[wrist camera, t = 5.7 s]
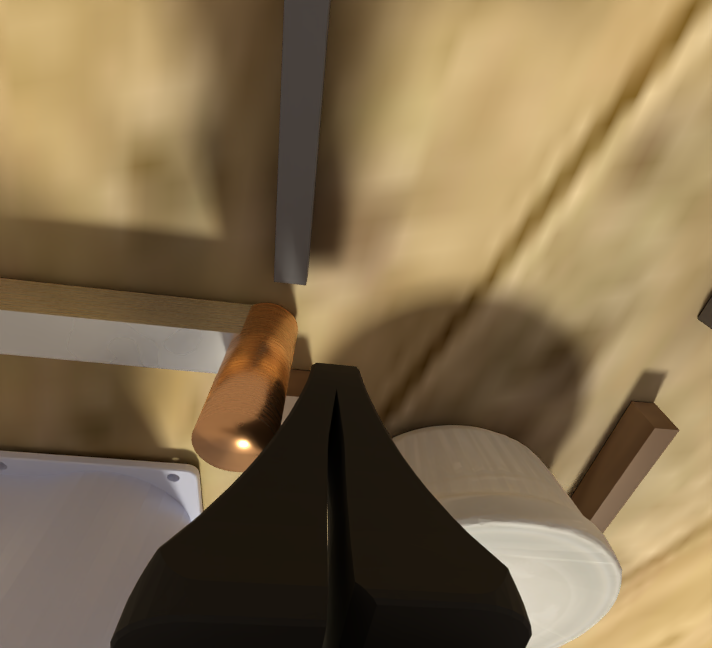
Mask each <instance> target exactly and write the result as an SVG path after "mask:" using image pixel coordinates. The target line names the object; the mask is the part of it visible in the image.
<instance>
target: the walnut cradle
mask: <svg viewBox="0 0 712 648" xmlns="http://www.w3.org/2000/svg"><path fill="white" fill-rule="evenodd" d="M309 374H310V371H304V370H294V369H291V372H290V377H289V383H288V388H287V394H286V399H285V405H284V410H283V416H282V422H281V425H282V424H283V422H284V421H285V419H286V418H287V416H288V415H289V413H290V411H291V410H292V408H293V406H294V405H295V403H296V401H297V399H298V398H299V396H300V394H301V392H302V390H303V388H304V386H305V384H306V382H307V379H308V377H309ZM678 432H679V429H678V428H677V427H676V426H675V425H674V424H673V423H672V422H671V421H670V420H669V418H668V417H667V416H666V415H665V414H664V413H663V412H662V411H661V410H660V409H659V408H658V406H657V405H656V404H655V403H646V402H635V401H632V402H631V403H630V405H629V406H628V408H627V410H626V411H625V413H624V414H623V416H622V418H621V419H620V421H619V422H618V424H617V426H616V427H615V429H614V430H613V432H612V433H611V435H610V437H609V438H608V440H607V441H606V443H605V445H604V446H603V448H602V449H601V451H600V453H599V454H598V456H597V457H596V459H595V460H594V462H593V464H592V465H591V467H590V468H589V470H588V472H587V473H586V475H585V476H584V478H583V480H582V481H581V483H580V484H579V486H578V487H577V489H576V491H575V492H574V494H573V495H572V497H571V500H572V501H573V502H574V504H575V505H576V506H577V508H578V509H579V511H580V512H581V513H582V515H583V516H584V517H586V518H587V519H588V520H590V521H591V522H592V523H593V524H594V525H595V526H596V527H597V528H598V529H599V530H600V531H601V532H602V534H603V532H604V531H605V530H606V528H607V527H608V526H609V524H610V523H611V522H612V520H613V519H614V518H615V516H616V515H617V514H618V512H619V511H620V510H621V508H622V507H623V506H624V504H625V503H626V502H627V500H628V499H629V497H630V496H631V495H632V493H633V492H634V491H635V489H636V488H637V487H638V485H639V484H640V483H641V481H642V480H643V479H644V477H645V476H646V475H647V473H648V472H649V471H650V469H651V468H652V467H653V465H654V464H655V462H656V461H657V460H658V458H659V457H660V456H661V454H662V453H663V452H664V450H665V449H666V448H667V446H668V445H669V444H670V442H671V441H672V440H673V438H674V437H675V436H676V434H677V433H678Z"/></svg>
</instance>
